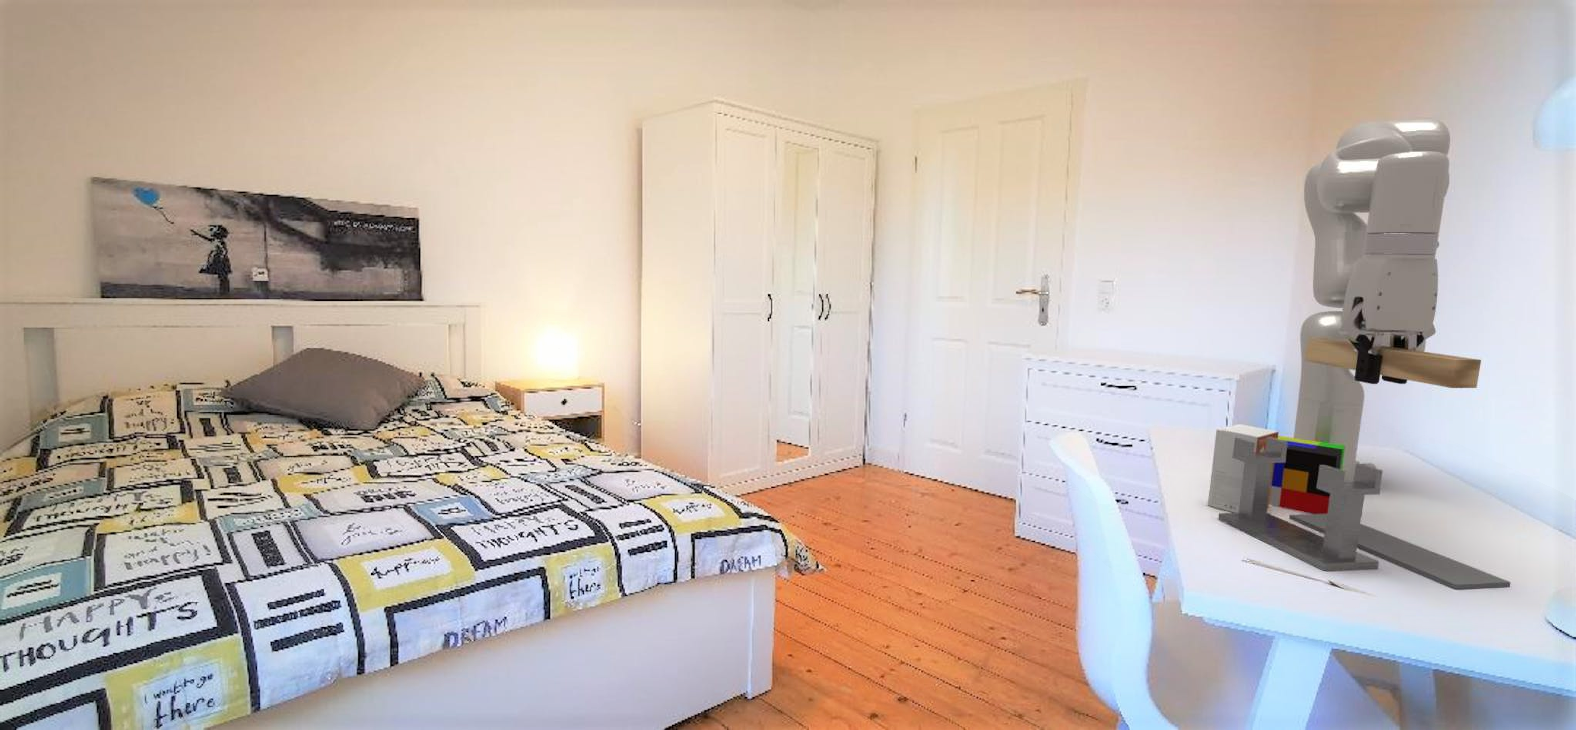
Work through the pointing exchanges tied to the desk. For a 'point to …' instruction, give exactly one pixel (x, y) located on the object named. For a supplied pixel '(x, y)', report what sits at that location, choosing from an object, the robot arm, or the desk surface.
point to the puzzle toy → (1304, 475)
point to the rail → (1400, 363)
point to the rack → (1294, 540)
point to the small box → (1233, 465)
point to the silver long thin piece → (1306, 576)
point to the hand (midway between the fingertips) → (1380, 380)
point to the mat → (1413, 557)
